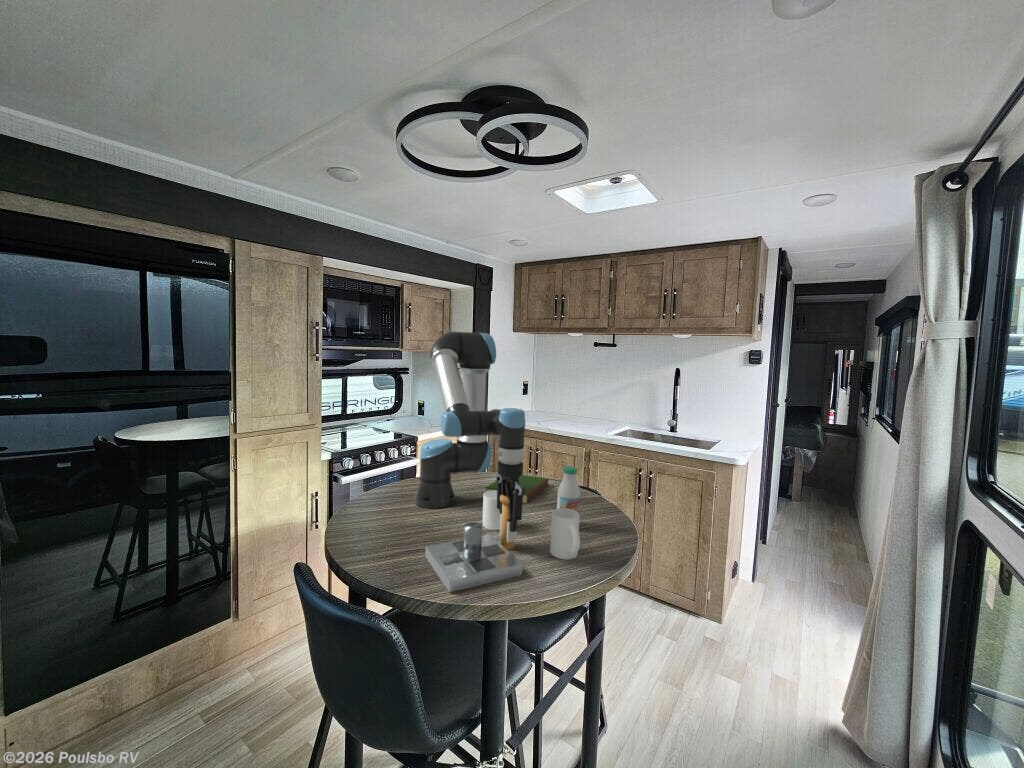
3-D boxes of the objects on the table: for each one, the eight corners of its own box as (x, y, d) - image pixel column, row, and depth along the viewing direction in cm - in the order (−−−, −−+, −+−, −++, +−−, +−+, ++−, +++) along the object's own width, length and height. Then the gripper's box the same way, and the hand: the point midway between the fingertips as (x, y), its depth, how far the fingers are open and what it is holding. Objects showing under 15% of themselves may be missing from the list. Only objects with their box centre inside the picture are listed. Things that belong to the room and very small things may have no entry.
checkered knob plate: (425, 556, 122) (426, 518, 121) (489, 543, 132) (491, 508, 131) (449, 592, 105) (450, 548, 104) (521, 574, 114) (523, 534, 113)
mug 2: (563, 568, 119) (565, 525, 118) (545, 548, 130) (546, 509, 129) (589, 563, 121) (591, 522, 120) (569, 545, 133) (571, 507, 132)
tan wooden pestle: (494, 544, 131) (496, 495, 130) (511, 540, 134) (513, 492, 133) (503, 552, 126) (505, 501, 125) (520, 548, 129) (522, 498, 128)
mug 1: (519, 530, 142) (521, 498, 141) (483, 531, 141) (484, 498, 140) (516, 520, 151) (517, 490, 150) (481, 520, 149) (482, 490, 148)
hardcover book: (527, 504, 168) (528, 495, 167) (484, 496, 175) (484, 487, 175) (548, 486, 190) (548, 478, 190) (509, 480, 198) (509, 472, 198)
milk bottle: (551, 525, 147) (554, 467, 146) (565, 519, 153) (567, 463, 151) (570, 532, 142) (573, 472, 140) (583, 525, 148) (586, 468, 146)
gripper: (487, 455, 134) (484, 528, 136) (512, 470, 119) (509, 552, 121) (508, 453, 137) (505, 525, 139) (536, 467, 122) (533, 547, 124)
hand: (507, 537), depth 130 cm, fingers closed on tan wooden pestle, 4 cm apart
